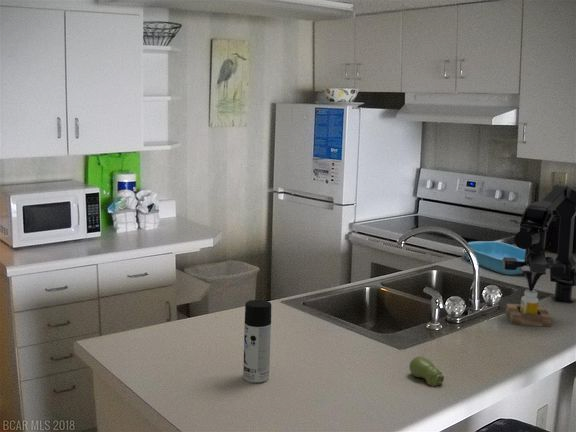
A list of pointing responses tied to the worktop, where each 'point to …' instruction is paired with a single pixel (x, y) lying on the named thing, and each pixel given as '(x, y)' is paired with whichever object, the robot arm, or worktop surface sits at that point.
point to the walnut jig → (528, 316)
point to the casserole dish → (496, 255)
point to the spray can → (257, 341)
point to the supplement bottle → (529, 302)
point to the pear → (426, 371)
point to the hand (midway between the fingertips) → (530, 290)
